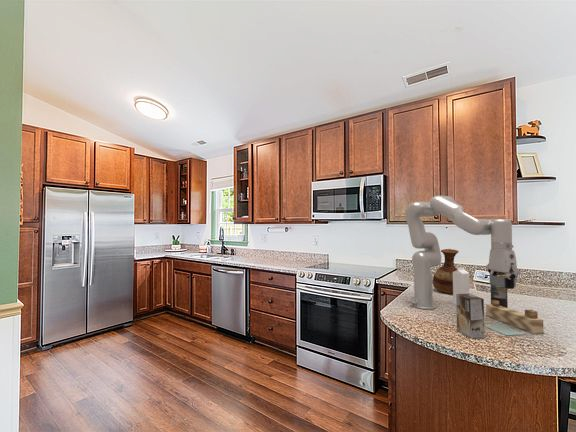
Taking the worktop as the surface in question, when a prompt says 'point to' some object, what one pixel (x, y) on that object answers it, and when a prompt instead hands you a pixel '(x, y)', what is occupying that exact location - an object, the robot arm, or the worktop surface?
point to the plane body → (516, 318)
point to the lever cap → (499, 280)
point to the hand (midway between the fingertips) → (502, 286)
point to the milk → (460, 282)
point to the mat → (504, 329)
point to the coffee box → (470, 315)
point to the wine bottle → (499, 294)
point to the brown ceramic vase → (445, 272)
